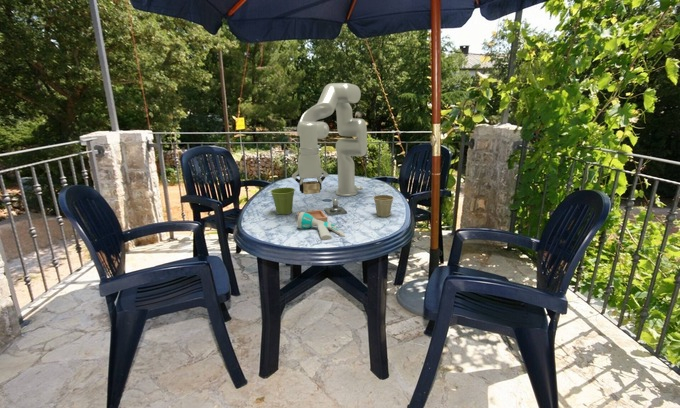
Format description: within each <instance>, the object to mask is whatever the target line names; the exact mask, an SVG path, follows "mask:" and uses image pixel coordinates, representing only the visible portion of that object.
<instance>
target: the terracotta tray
mask: <svg viewBox="0 0 680 408" xmlns="http://www.w3.org/2000/svg"><path fill="white" fill-rule="evenodd" d="M300 212H301V211H298V212H297V213H296V214H297V215H296V216H297V218H298V217H299V214H300ZM304 212H305V213H308V214H310V215H312V217H313V218H315V219H317V220H320V221H323V222H328V216H327V215H326V214H325V213H324V211H323V210H322V209H317V210H308V211H304Z"/></svg>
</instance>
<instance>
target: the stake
mask: <svg viewBox="0 0 680 408" xmlns="http://www.w3.org/2000/svg"><path fill="white" fill-rule="evenodd" d="M338 201H339V199H338V198H332V206H330V207H326V208H325V207H324V209H323V210H324V212H325V213H326V214H327V215H328V216H335V215H337V216H338V215H347V214H348V211H347V210H346V209H345V208H344V206H339V202H338Z"/></svg>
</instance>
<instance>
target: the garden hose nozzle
mask: <svg viewBox="0 0 680 408" xmlns="http://www.w3.org/2000/svg"><path fill="white" fill-rule="evenodd" d="M299 212H300V214H299V217H297V222H296V224H297V225H296V226H297V228H299V229H310V228H312V227H317V229H318V230H317V231H319V232H318V233H319V236H320V239H321V240H325V241H326V240H331V239H332V238H333V237H332V234H331V233H330V231H329V230H331V231H332V232H334V233H335V234H337V235H339V236H340V237H342V238H344V237H346V235H345V233H344V232H343V231H342V230H339V229H338V226H337V225H336V224H334V223H332V222H329V221H327V222H323V221H320V220H317V219H315V218H313V217H312V215H310V214H308V213H305V212H306V211H299Z"/></svg>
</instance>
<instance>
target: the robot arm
mask: <svg viewBox="0 0 680 408" xmlns="http://www.w3.org/2000/svg"><path fill="white" fill-rule="evenodd" d="M361 96H362V93H361V89H360V87H359V86H358V85H356V84H353V83H349V82H333V83H328V84H326V85H325V86H324V87H323V90H322V92H321V95H320V97H319V98H318V101H317V103H315V104H314V105H312V106H311V107H309V108H308V109H307V110H305V111H304V113H302V115H301V117H300V119H299V120H298V122H297V123H298V124H297V126H296V133H297V135H298V137H299V150H300V152H299V153H300V154H299V155H298V159H297V170H296V171H295V172H294V173H293V174H292V175H291V177H292V179H294V180H295V182H297V183H298V185H299V187H298V188H299V192H300V193H301V194H304V193H303V182H304V180H305V179H316V181H317V182H318V183H319V184H320V191H321V190H322V183H323V182H324V180H326V178H327V176H328V175H329V173H328V172H327V171H325V170H324V169H323V167H322V162H321V157H320V154H319V153H321V152H322V149H321V148H319V147H318V146H319V145H318V142H319V141H318V139H319V140H323V139H325V138H327V137H328V135H329V133H330V127H329V125H328V123H327V122H324V121H319V120H322V119H325V118H328V117H330V116H331V115H333V113H334V112H335V111H336V112H335V114H336V125H337V126H336V127H337V133H338V135H339V136H342V137H345V138H339V139H338V140H337V141H336V142H335V153H336V157H337V158H336V159H337V190H336V191H335V195H337V196H339V197H353V196H356V195H357V194H358V191H363V189H364V188H363V186H360V185H357V186H356V185H355V181H356V180H355V179H356V178H355V171H356V170H355V167H356V166H355V161H354V160H353V158H352V157H364V156H365V155H366V154H367V151H368V133H367V132H368V130H367V129H368V128H367V123H366V121H365V119H363V118H354V117H353V109H352V105H351V104H356V103H358V102H359V101H360V99H361ZM346 137H347V138H346ZM349 137H356V138H349ZM322 174H323V175H322ZM297 176H298V177H299V178H298V177H297Z"/></svg>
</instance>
